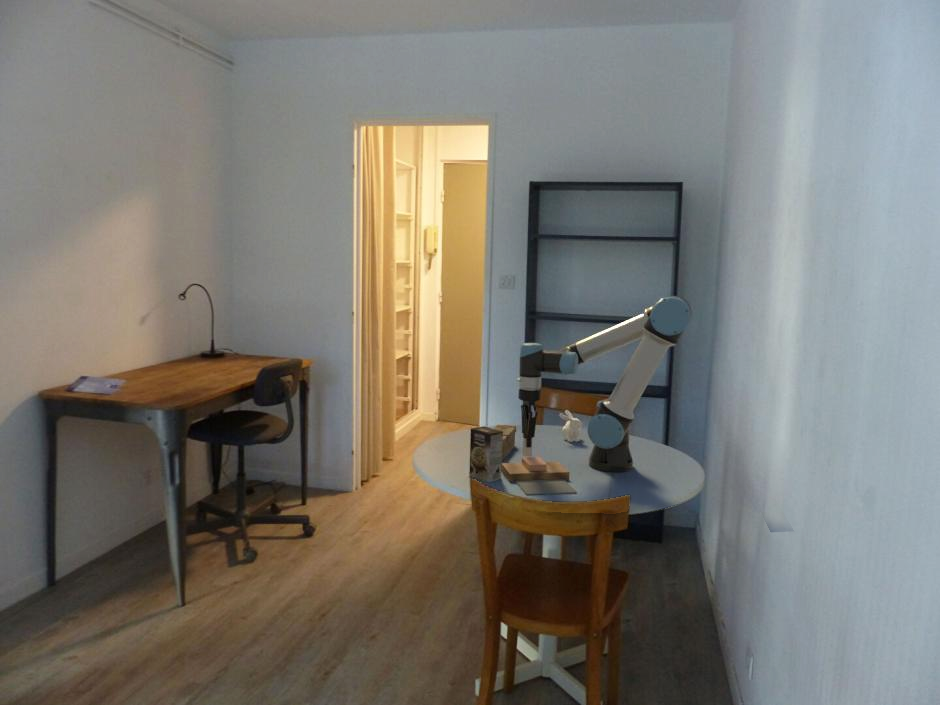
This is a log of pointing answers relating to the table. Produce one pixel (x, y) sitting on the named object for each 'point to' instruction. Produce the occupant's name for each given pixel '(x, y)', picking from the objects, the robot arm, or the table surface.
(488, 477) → the coffee box
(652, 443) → the table surface
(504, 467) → the brown wooden board
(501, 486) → the table surface
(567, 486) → the mat
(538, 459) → the salmon orange flat block
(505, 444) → the block tower
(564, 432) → the rabbit
